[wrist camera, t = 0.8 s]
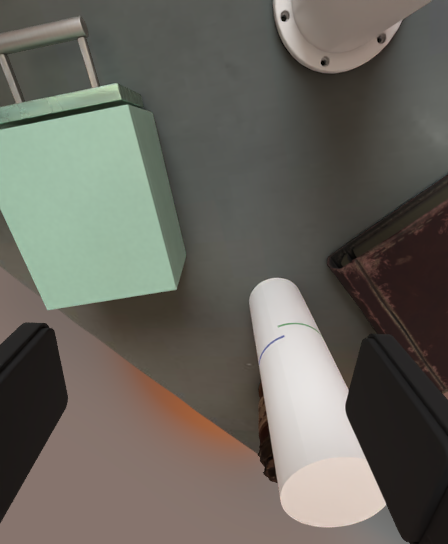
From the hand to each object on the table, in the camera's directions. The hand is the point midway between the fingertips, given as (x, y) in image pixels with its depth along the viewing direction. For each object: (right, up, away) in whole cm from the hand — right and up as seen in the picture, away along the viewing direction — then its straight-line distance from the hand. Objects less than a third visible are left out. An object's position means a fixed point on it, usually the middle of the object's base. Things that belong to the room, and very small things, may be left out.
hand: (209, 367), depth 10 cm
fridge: (-12, +11, +27) cm, 32 cm away
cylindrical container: (+7, -1, +33) cm, 34 cm away
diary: (+28, +1, +32) cm, 43 cm away
